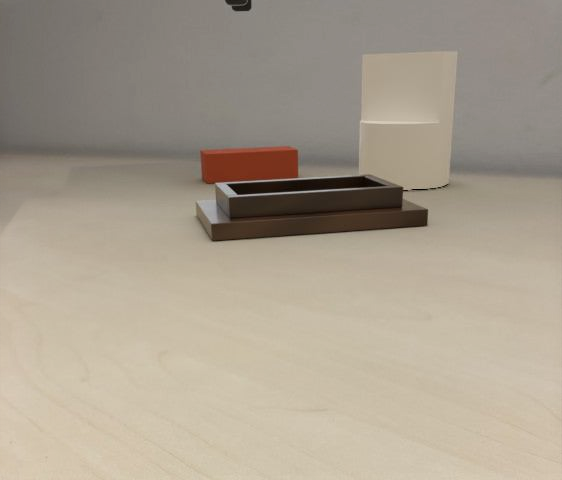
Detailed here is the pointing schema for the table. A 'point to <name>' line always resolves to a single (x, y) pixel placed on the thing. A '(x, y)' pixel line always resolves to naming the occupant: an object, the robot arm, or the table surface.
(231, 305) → the table surface
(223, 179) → the red rectangular block
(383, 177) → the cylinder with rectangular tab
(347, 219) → the dark wooden tray
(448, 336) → the table surface
